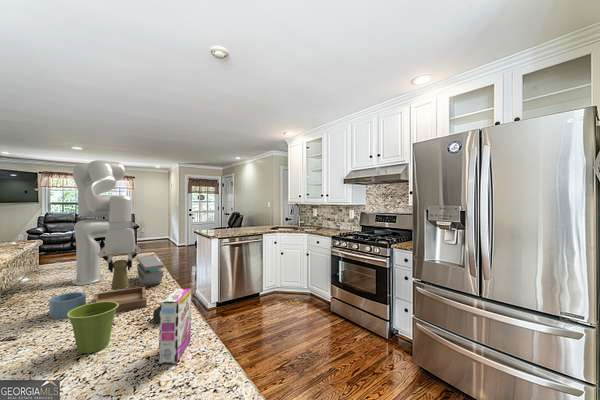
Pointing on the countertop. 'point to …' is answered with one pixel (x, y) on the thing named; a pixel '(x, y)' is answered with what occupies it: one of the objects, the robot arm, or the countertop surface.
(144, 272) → the grey lidded box
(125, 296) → the tray
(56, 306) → the blue hollow cylinder
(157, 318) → the smart speaker
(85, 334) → the plant pot
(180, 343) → the candy bar box
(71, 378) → the countertop surface
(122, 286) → the olive brown bulbous cylinder
